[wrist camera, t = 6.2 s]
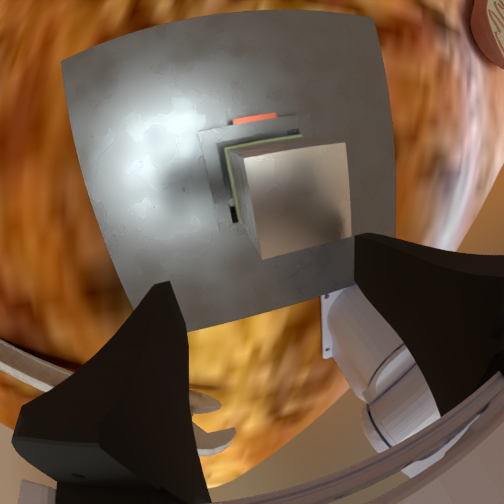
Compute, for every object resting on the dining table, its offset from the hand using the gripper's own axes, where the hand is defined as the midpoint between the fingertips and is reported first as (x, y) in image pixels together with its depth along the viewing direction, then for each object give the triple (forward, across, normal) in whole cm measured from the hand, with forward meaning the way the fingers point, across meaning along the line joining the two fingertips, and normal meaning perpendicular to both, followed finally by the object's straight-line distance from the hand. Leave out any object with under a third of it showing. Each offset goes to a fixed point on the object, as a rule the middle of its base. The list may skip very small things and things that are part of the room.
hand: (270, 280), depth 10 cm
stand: (+10, -2, -2) cm, 11 cm away
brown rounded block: (+11, -36, -23) cm, 44 cm away
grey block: (+6, -2, -2) cm, 7 cm away
